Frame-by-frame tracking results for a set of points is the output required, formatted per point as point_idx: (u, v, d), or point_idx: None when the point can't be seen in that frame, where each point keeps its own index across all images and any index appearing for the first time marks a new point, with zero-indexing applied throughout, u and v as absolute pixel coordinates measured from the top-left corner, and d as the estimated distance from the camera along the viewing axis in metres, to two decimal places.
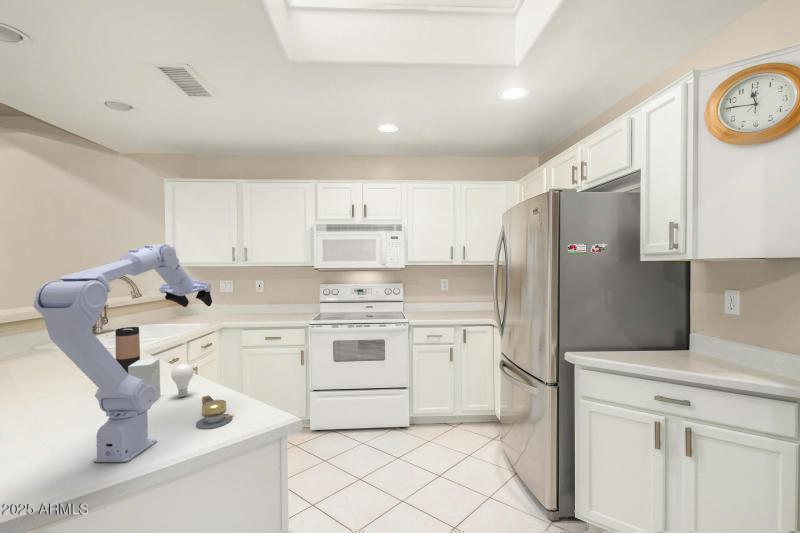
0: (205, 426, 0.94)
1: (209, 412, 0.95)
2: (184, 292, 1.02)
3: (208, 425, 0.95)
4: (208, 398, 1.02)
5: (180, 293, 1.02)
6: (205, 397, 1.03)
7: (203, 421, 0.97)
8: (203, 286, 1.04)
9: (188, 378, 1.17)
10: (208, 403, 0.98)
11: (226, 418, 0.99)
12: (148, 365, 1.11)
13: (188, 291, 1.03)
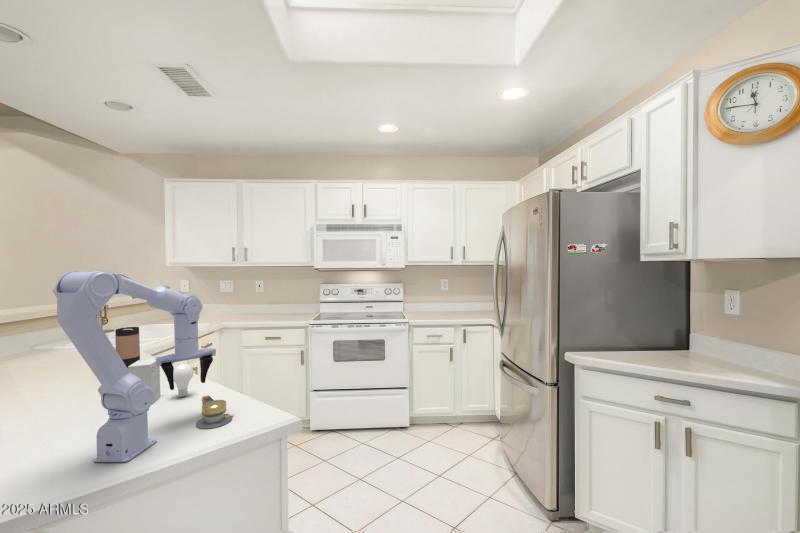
0: (205, 426, 0.94)
1: (209, 412, 0.95)
2: (194, 353, 0.98)
3: (208, 425, 0.95)
4: (208, 398, 1.02)
5: (190, 353, 0.97)
6: (205, 397, 1.03)
7: (203, 421, 0.97)
8: (210, 349, 1.03)
9: (188, 378, 1.17)
10: (208, 403, 0.98)
11: (226, 418, 0.99)
12: (148, 365, 1.11)
13: (198, 352, 0.99)
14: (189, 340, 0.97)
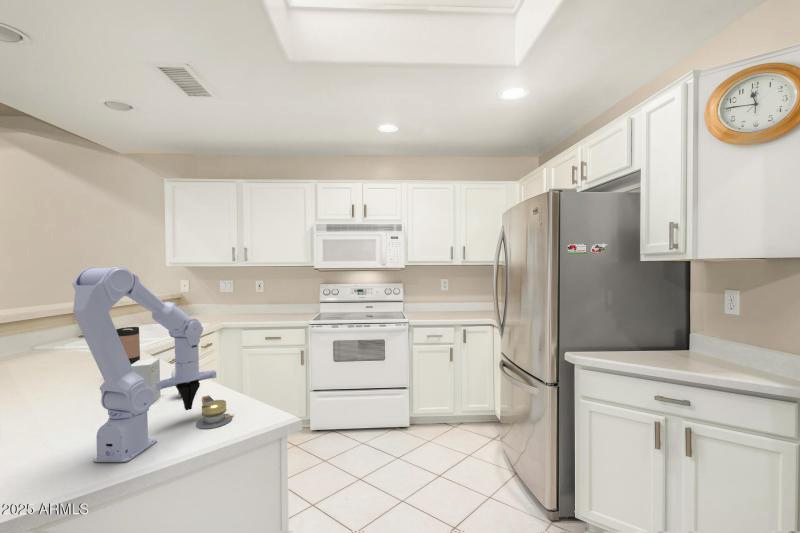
0: (205, 426, 0.94)
1: (209, 412, 0.95)
2: (195, 376, 0.98)
3: (208, 425, 0.95)
4: (208, 398, 1.02)
5: (191, 377, 0.97)
6: (205, 397, 1.03)
7: (203, 421, 0.97)
8: (210, 372, 1.03)
9: None
10: (208, 403, 0.98)
11: (226, 418, 0.99)
12: (148, 365, 1.11)
13: (198, 375, 0.99)
14: (190, 364, 0.97)
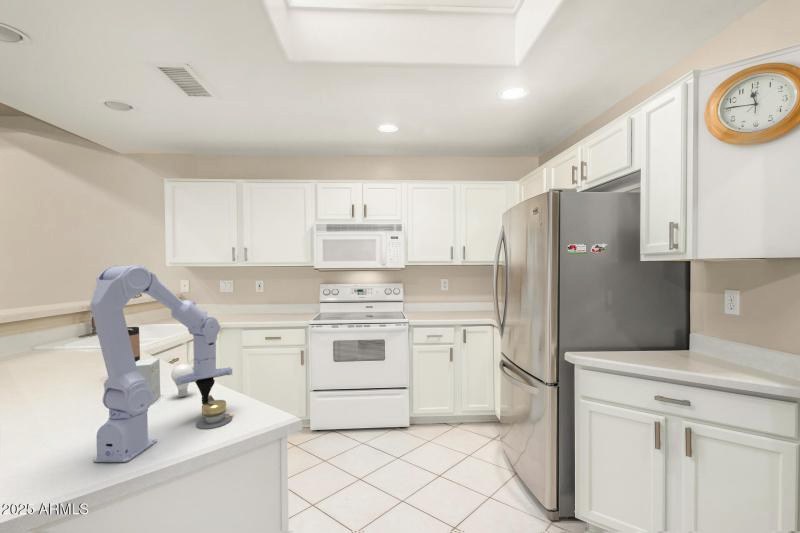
0: (205, 426, 0.94)
1: (208, 412, 0.95)
2: (212, 373, 1.01)
3: (208, 425, 0.95)
4: (209, 398, 1.03)
5: (209, 373, 1.00)
6: None
7: (203, 421, 0.97)
8: (227, 369, 1.06)
9: None
10: (208, 403, 0.98)
11: (226, 418, 0.99)
12: (148, 365, 1.11)
13: (215, 372, 1.02)
14: (208, 360, 1.00)
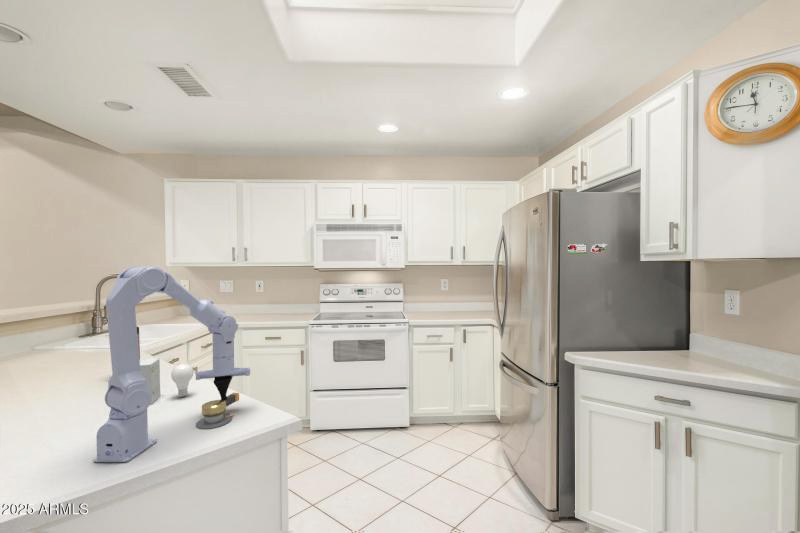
0: (205, 426, 0.94)
1: (202, 411, 0.96)
2: (226, 371, 1.02)
3: (208, 425, 0.95)
4: (229, 396, 1.04)
5: (222, 372, 1.01)
6: (232, 394, 1.06)
7: (203, 421, 0.97)
8: (245, 369, 1.05)
9: (188, 378, 1.17)
10: (215, 401, 1.00)
11: (226, 418, 0.99)
12: (148, 365, 1.11)
13: (230, 371, 1.03)
14: (221, 359, 1.01)
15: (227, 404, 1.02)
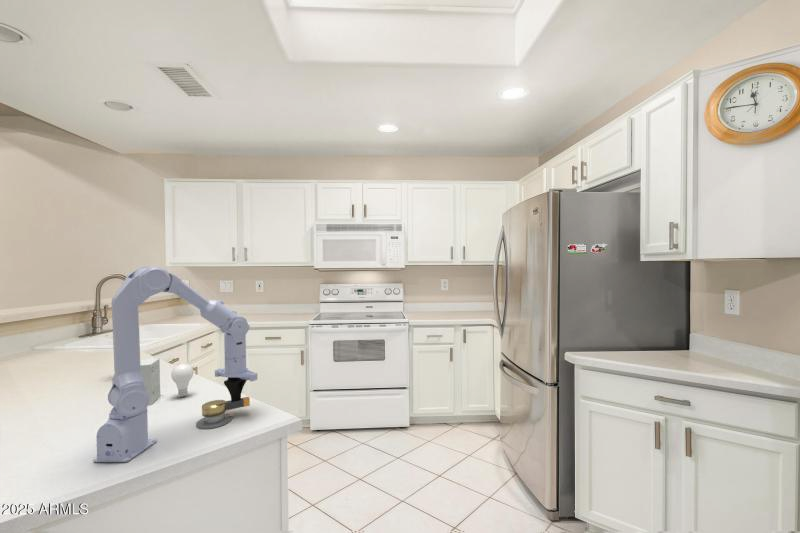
0: (205, 426, 0.94)
1: None
2: (232, 373, 1.00)
3: (208, 425, 0.95)
4: (238, 400, 1.01)
5: (228, 373, 1.00)
6: (244, 398, 1.02)
7: (203, 421, 0.97)
8: (251, 374, 1.00)
9: (188, 378, 1.17)
10: (220, 401, 1.00)
11: (226, 418, 0.99)
12: (148, 365, 1.11)
13: (236, 374, 1.00)
14: (227, 360, 1.00)
15: (230, 407, 0.99)
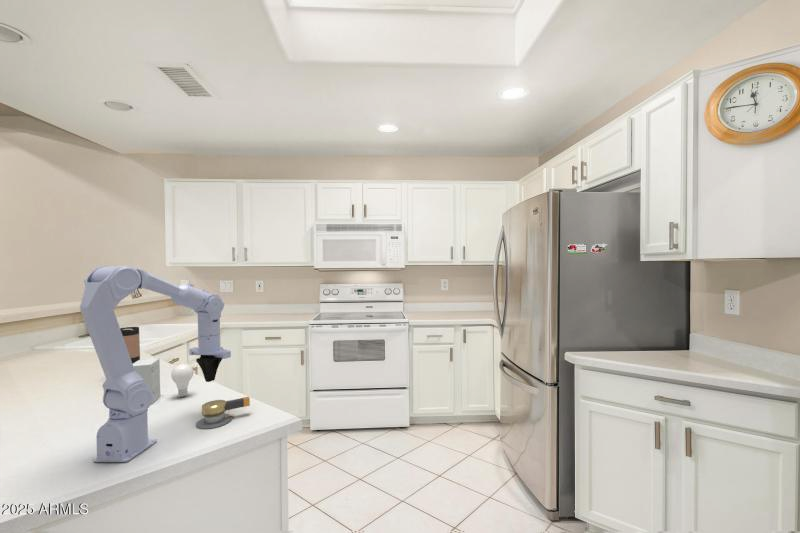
0: (205, 426, 0.94)
1: None
2: (205, 351, 1.00)
3: (208, 425, 0.95)
4: (238, 400, 1.01)
5: (201, 351, 1.00)
6: (244, 398, 1.02)
7: (203, 421, 0.97)
8: (224, 351, 1.01)
9: (188, 378, 1.17)
10: (220, 401, 1.00)
11: (226, 418, 0.99)
12: (148, 365, 1.11)
13: (209, 351, 1.00)
14: (201, 338, 1.00)
15: (230, 407, 0.99)
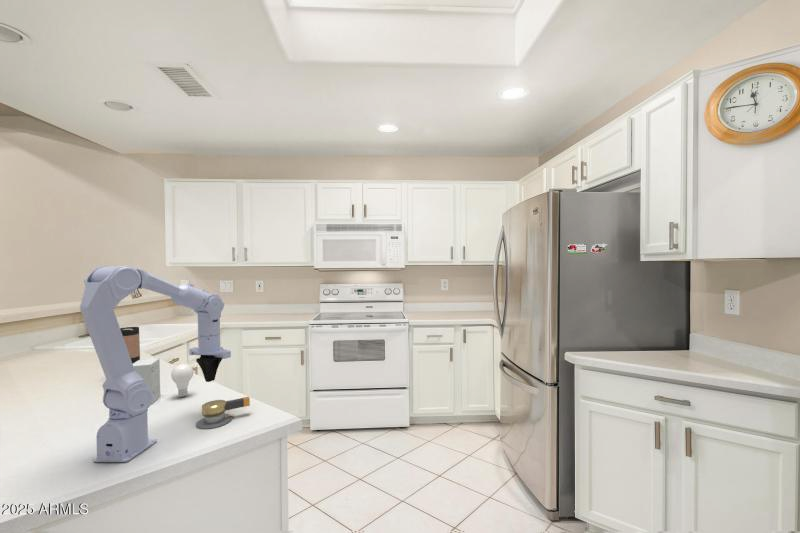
0: (205, 426, 0.94)
1: None
2: (205, 351, 1.00)
3: (208, 425, 0.95)
4: (238, 400, 1.01)
5: (201, 351, 1.00)
6: (244, 398, 1.02)
7: (203, 421, 0.97)
8: (224, 351, 1.01)
9: (188, 378, 1.17)
10: (220, 401, 1.00)
11: (226, 418, 0.99)
12: (148, 365, 1.11)
13: (209, 351, 1.00)
14: (201, 338, 1.00)
15: (230, 407, 0.99)
